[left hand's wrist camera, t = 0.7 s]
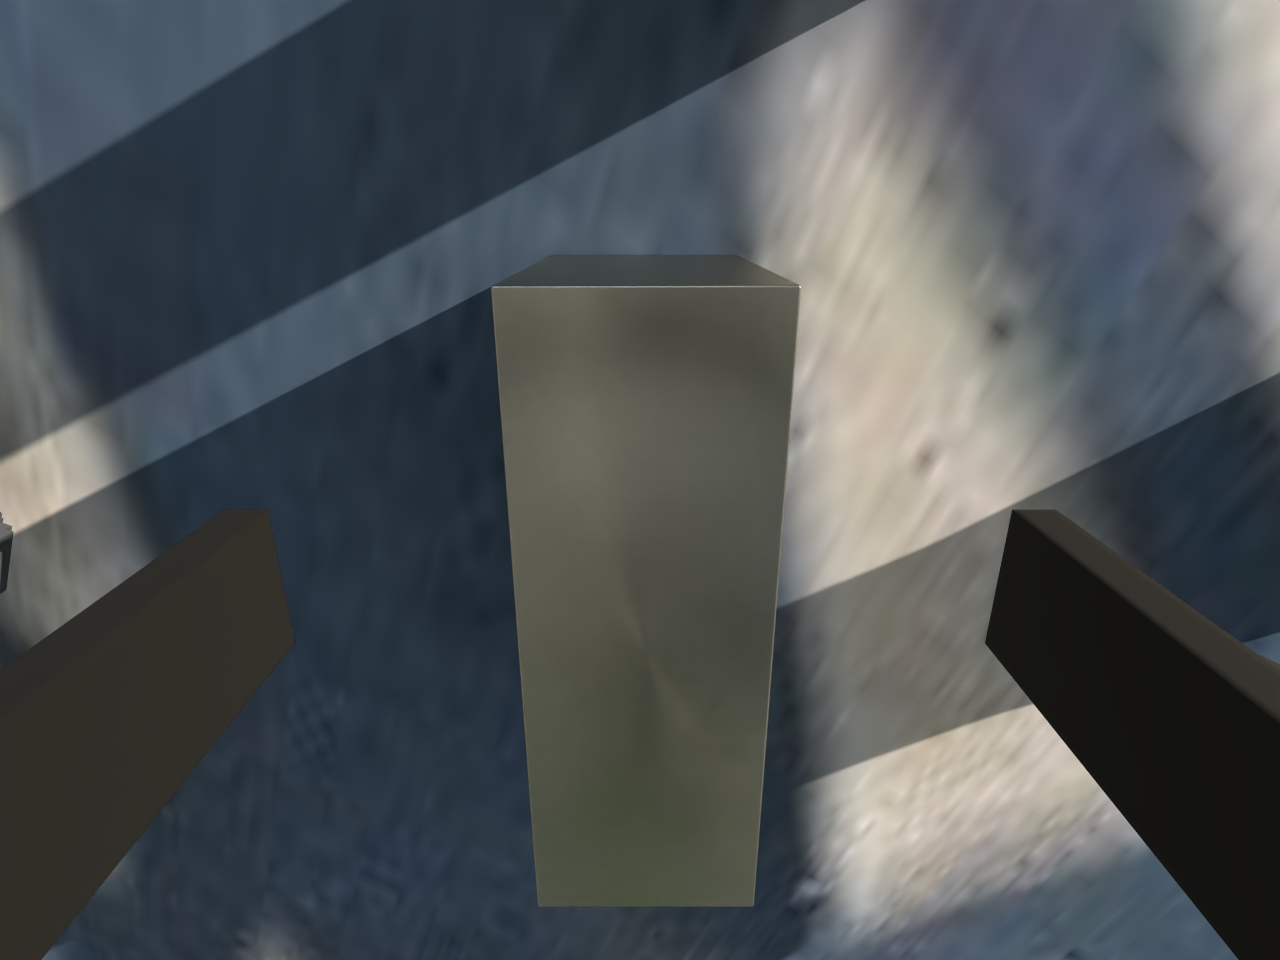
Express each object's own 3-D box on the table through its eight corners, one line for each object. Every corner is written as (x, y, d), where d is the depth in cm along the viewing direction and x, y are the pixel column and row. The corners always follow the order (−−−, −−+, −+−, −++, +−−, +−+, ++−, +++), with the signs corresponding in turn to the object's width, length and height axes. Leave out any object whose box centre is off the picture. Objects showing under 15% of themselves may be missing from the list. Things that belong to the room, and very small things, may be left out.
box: (550, 255, 30) (490, 286, 18) (737, 254, 30) (801, 285, 18) (570, 687, 38) (537, 907, 26) (718, 687, 38) (753, 907, 26)
